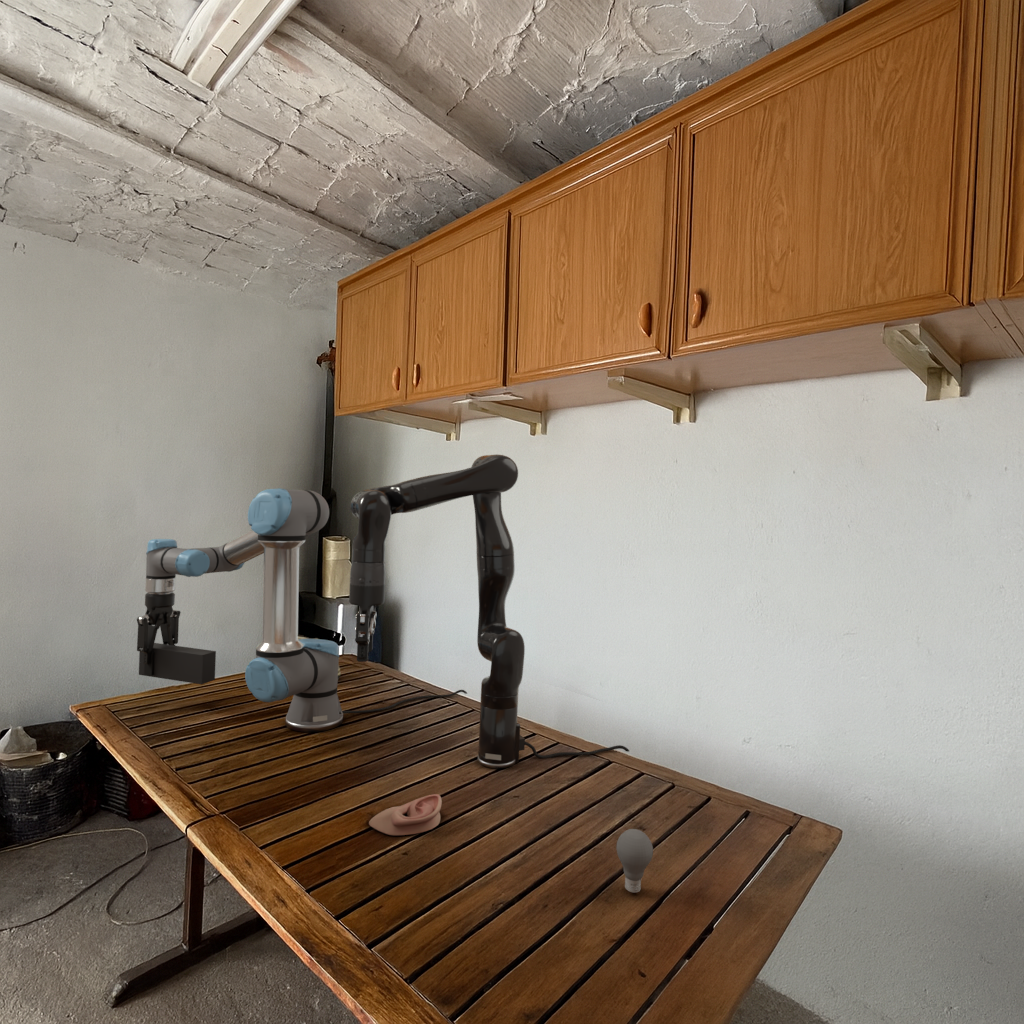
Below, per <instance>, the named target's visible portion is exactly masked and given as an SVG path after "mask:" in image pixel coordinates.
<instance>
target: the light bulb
mask: <svg viewBox="0 0 1024 1024" xmlns="http://www.w3.org/2000/svg"><path fill="white" fill-rule="evenodd" d="M615 849H616V854H617V857H618V859H619V861H620V863H621V865H622V867H623V873H624V874H623V875H624V876H625V878H624V888H625V890H627V891H628V892H630V893H634V894H635V893H639V892H640V891H641V889H642V887H641V886H642V879H643V877H644V875H645V871H646V868H647V867H648V866H649V864H650V863H651V861H652V859H653V855H654V847H653V843H652V841H651V838H649V836H648V835H647V834H646V833H645V832H643V831H642V830H641V829H636V828H629V829H627V830H625V831H623V832H622V833H621V834H620V835H619V837H618V839H617V841H616V847H615Z"/></svg>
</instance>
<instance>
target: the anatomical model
mask: <svg viewBox="0 0 1024 1024" xmlns="http://www.w3.org/2000/svg"><path fill="white" fill-rule="evenodd" d="M442 804H443V799H442V797H441V795H440V794H437V793H435V794H433V793H432V794H429V795H425V796H421V797H418V798H416V799H413V800H411V801H409V802H406V803H404V804H402V805H398V806H392V807H390V808H386V809H384V810H382V811H380V812H379V813H377V814H376V815H374V816H373V817H371V819H370V820H369V821H368V825H369V826H370V827H371V828H372V829H374V830H376V831H378V832H380V833H382V834H385V835H389V836H405V835H406V836H408V835H415V834H421V833H424V832H428V831H430V830H433V829H434V828H436V827H437V826H439V824H440V822H441V817H442V816H441V813H440V811H441V809H442Z"/></svg>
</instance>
